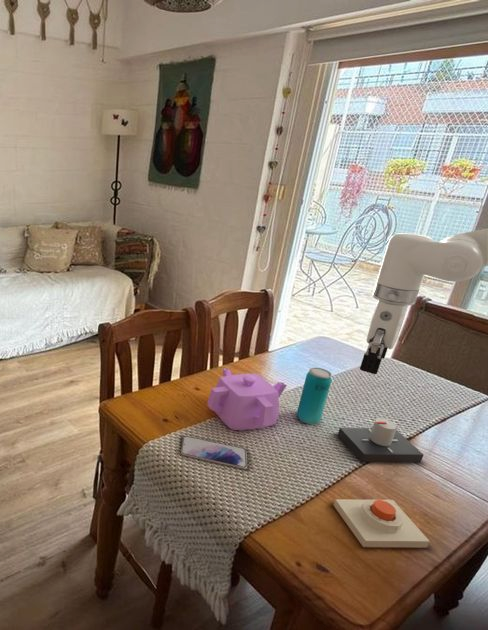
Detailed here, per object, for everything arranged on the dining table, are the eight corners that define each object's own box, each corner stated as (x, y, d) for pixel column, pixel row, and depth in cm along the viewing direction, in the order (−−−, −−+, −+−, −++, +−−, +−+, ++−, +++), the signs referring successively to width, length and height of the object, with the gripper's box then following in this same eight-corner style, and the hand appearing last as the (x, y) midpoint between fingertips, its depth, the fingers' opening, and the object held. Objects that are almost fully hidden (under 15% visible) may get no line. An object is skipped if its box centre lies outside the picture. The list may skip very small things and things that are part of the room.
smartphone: (247, 468, 100) (180, 453, 105) (246, 471, 101) (180, 456, 105) (246, 448, 106) (183, 435, 111) (245, 451, 107) (182, 438, 111)
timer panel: (390, 437, 113) (394, 427, 111) (419, 464, 103) (424, 454, 102) (336, 437, 113) (339, 427, 111) (360, 464, 103) (364, 453, 102)
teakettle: (202, 422, 118) (208, 382, 113) (218, 393, 131) (225, 356, 126) (270, 444, 109) (280, 403, 105) (280, 411, 123) (289, 373, 118)
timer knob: (383, 434, 109) (389, 416, 107) (395, 446, 105) (402, 428, 103) (365, 434, 109) (371, 416, 107) (376, 446, 105) (383, 427, 103)
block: (389, 507, 91) (395, 493, 90) (426, 549, 82) (433, 534, 81) (332, 507, 91) (337, 492, 90) (362, 549, 82) (368, 533, 80)
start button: (385, 506, 87) (387, 499, 86) (397, 521, 84) (400, 514, 83) (367, 506, 87) (369, 499, 86) (379, 521, 84) (381, 514, 83)
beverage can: (323, 427, 116) (337, 378, 111) (301, 426, 116) (314, 377, 111) (312, 414, 122) (325, 367, 116) (292, 414, 122) (303, 366, 116)
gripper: (411, 308, 85) (385, 384, 91) (421, 287, 96) (397, 356, 103) (366, 298, 89) (344, 372, 96) (381, 280, 101) (360, 346, 108)
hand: (372, 363), depth 99 cm, fingers open, 9 cm apart
